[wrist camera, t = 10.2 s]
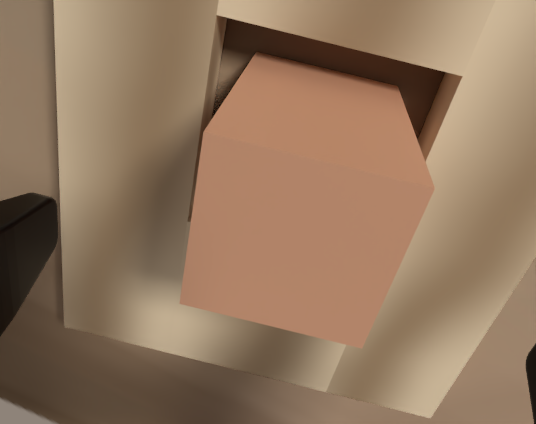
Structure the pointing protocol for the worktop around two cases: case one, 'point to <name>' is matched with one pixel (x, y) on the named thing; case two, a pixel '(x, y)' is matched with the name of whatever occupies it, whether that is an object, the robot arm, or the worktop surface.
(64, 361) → the worktop surface
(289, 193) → the tall peg
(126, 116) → the hole board
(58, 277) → the worktop surface
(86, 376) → the worktop surface
